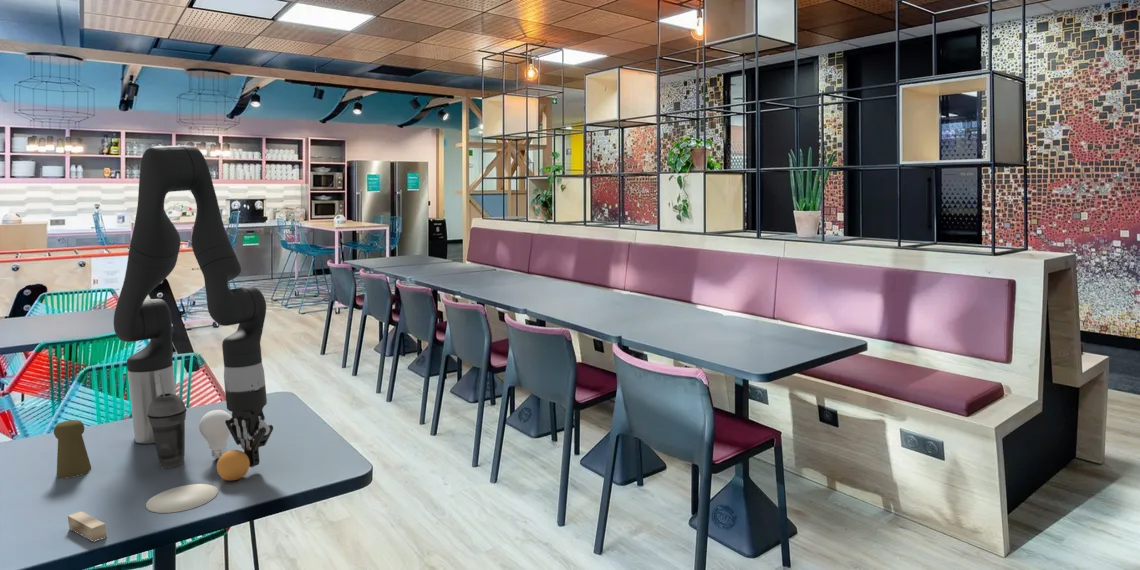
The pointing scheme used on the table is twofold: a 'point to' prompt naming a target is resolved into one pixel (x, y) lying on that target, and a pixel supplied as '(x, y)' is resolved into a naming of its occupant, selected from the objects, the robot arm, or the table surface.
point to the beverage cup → (168, 428)
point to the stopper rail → (87, 525)
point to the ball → (233, 465)
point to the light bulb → (215, 431)
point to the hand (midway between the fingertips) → (252, 465)
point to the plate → (181, 498)
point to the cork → (71, 449)
